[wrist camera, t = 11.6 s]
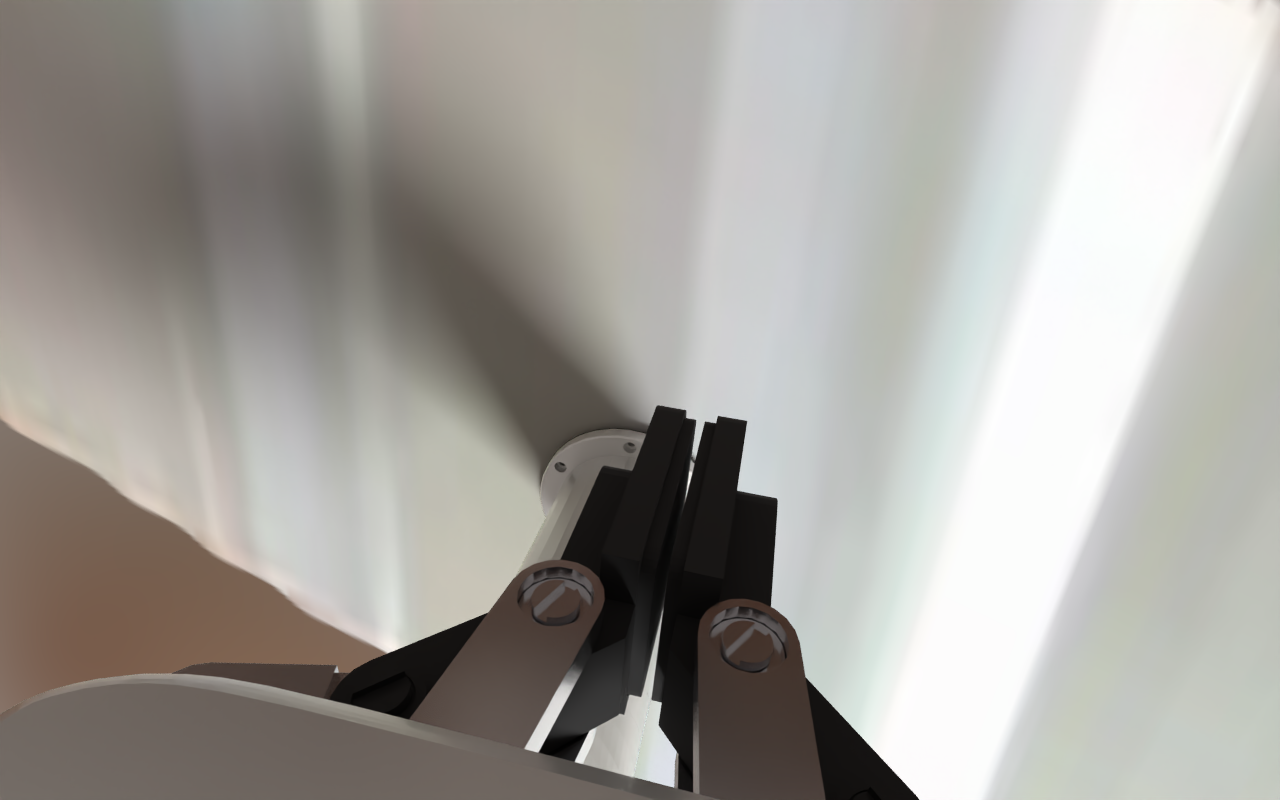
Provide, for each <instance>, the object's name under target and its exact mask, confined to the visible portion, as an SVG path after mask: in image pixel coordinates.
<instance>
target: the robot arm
mask: <svg viewBox="0 0 1280 800" xmlns="http://www.w3.org/2000/svg"><path fill="white" fill-rule="evenodd" d="M746 425H747V421H744V420H738V419H732V418H727V417H721V416H718V418H717V423H710V422H705V424H704V428H703V432H702V436H701V440H700V444H699V448H698V452H697V456H696V460H695V464H694V463H693V462H692V460H691V456H692V449H693V442H694V434H695V427H696V420H694V419H688V418H686V410H681V409H676V408H670V407H664V406H659V405H658V406H657V407H656V409H655V412H654V415H653V417H652V420H651V423H650V425H649V428H648V431H647V433H646V434H645V433H641V432H636V431H632V430H623V429H605V430H596V431H592V432H589V433H586V434H582V435H580V436H578V437H576V438H574V439H572V440H570V441H568V442H567V443H566V444H565V445H564V446H562V447H561V448H560V449H559V450H558V451H557V452H556V453H555V455H554V456H553V458H552V459H551V460H550V462H549V464H548V466H547V468H546V470H545V472H544V474H543V478H542V482H541V486H540V500H541V504H542V509H543V513H544V515H545V517H546V518H545V520H544V522H543V524H542V526H541V528H540V530H539V532H538V534H537V536H536V538H535V540H534V542H533V544H532V546H531V548H530V550H529V552H528V554H527V556H526V558H525V559H524V561H523V563H522V565H521V567H520V569H519V571H518V573H517V575H516V577H515V578H514V579H513V580H512V581H511V583H510V584H509V585H508V587H507V588H506V590H505V591H504V592H503V594H502V595H501V596H500V598H499V599H498V600H497V602H496V603H495V604H494V606H493V607H492V608H491V610H490V611H489V612H488V613H486V614H484V615H481V616H479V617H476V618H474V619H471V620H469V621H467V622H464V623H462V624H459V625H457V626H454V627H452V628H449V629H447V630H444V631H442V632H439V633H437V634H435V635H432V636H430V637H427V638H425V639H422V640H420V641H417V642H415V643H412V644H410V645H408V646H405V647H403V648H400V649H398V650H395V651H393V652H390V653H388V654H385V655H383V656H381V657H378V658H376V659H373V660H371V661H369V662H367V663H365V664H363V665H361V666H360V667H358V668H356V669H354V670H353V671H352V672H351V673H339V672H338V668H337V665H303V664H302V665H301V664H256V663H251V664H250V663H204V664H196V665H191V666H188V667H186V668H183V669H181V670H179V671H176V672H174V673H172V674H136V675H127V676H118V677H109V678H101V679H95V680H91V681H85V682H80V683H75V684H71V685H68V686H64V687H60V688H56V689H53V690H49V691H46V692H44V693H41V694H39V695H36V696H34V697H32V698H29V699H26V700H24V701H22V702H21V703H19V704H17V705H15V706H13V707H12V708H10V709H8V710H6V711H5V712H3V713H1V714H0V800H919V799H918V797H917V796H916V795H915V794H914V793H913V792H912V791H911V790H910V789H909V788H908V786H907V785H906V784H905V783H904V782H903V781H902V780H901V779H900V778H899V777H898V776H897V775H896V774H895V773H894V772H893V770H892V769H891V768H890V767H889V766H888V765H887V764H886V763H885V762H884V761H883V760H882V759H881V758H880V757H879V755H878V754H877V753H876V752H875V751H874V750H873V749H872V748H871V747H870V746H869V745H868V744H867V743H866V742H865V740H864V739H863V738H862V737H861V736H860V735H859V734H858V733H857V732H856V731H855V730H854V729H853V728H852V727H851V725H850V724H849V723H848V722H847V721H846V720H845V719H844V718H843V717H842V716H841V715H840V714H839V713H838V712H837V710H836V709H835V708H834V707H833V706H832V705H831V704H830V703H829V702H828V701H827V700H826V699H825V698H824V697H823V695H822V694H821V693H820V692H819V691H818V690H817V689H816V688H815V687H814V686H813V685H812V684H811V683H810V682H809V680H808V679H807V678H806V677H805V672H804V666H803V659H802V653H801V647H800V642H799V640H798V637H797V634H796V631H795V629H794V628H793V627H792V625H791V624H790V623H789V621H788V620H787V618H785V617H784V616H783V615H782V614H780V613H779V612H778V611H777V610H775V609H774V608H772V607H771V596H772V581H773V565H774V550H775V535H776V520H777V502H778V501H777V498H771V497H766V496H761V495H756V494H751V493H745V492H740V491H737V485H738V479H739V472H740V465H741V459H742V452H743V445H744V439H745V432H746ZM651 696H652V700H654V701H658V702H662V705H661V712H660V719H659V726H660V728H661V729H662V731H663V732H664V734H665V735H666V737H667V738H668V739H669V741H670V742H671V744H672V745H673V747H674V748H675V750H676V751H677V754H676V760H675V783H674V788H673V787H669V786H665V785H661V784H657V783H653V782H650V781H646V780H642V779H638V778H634V774H635V769H636V765H637V760H638V755H639V750H640V745H641V741H642V736H643V732H644V727H645V723H646V719H647V714H648V709H649V705H650V701H651Z"/></svg>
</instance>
